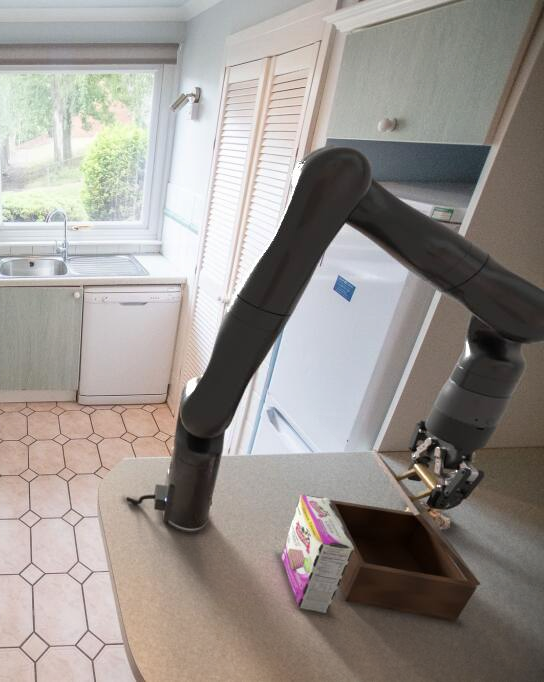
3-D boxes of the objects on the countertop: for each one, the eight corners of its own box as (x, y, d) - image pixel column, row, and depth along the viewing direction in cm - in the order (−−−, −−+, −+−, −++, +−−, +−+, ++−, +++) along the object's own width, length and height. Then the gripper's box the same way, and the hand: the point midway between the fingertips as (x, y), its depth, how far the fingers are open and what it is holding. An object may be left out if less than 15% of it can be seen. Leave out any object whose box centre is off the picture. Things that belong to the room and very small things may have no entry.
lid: (414, 515, 70) (454, 500, 68) (370, 452, 84) (402, 437, 82) (475, 586, 73) (515, 574, 71) (423, 513, 87) (455, 501, 85)
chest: (345, 601, 80) (361, 566, 77) (316, 531, 94) (328, 499, 91) (455, 622, 77) (477, 587, 73) (408, 546, 91) (424, 514, 87)
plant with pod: (470, 527, 95) (513, 451, 87) (425, 535, 93) (465, 458, 85) (433, 499, 103) (469, 426, 94) (391, 506, 101) (424, 432, 92)
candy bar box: (278, 556, 89) (299, 492, 82) (306, 560, 88) (329, 496, 81) (296, 609, 79) (322, 542, 72) (328, 615, 78) (357, 548, 71)
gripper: (414, 384, 77) (379, 461, 84) (467, 434, 64) (420, 520, 71) (465, 390, 75) (425, 468, 83) (530, 443, 63) (475, 530, 70)
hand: (423, 492), depth 77 cm, fingers closed on lid, 6 cm apart
